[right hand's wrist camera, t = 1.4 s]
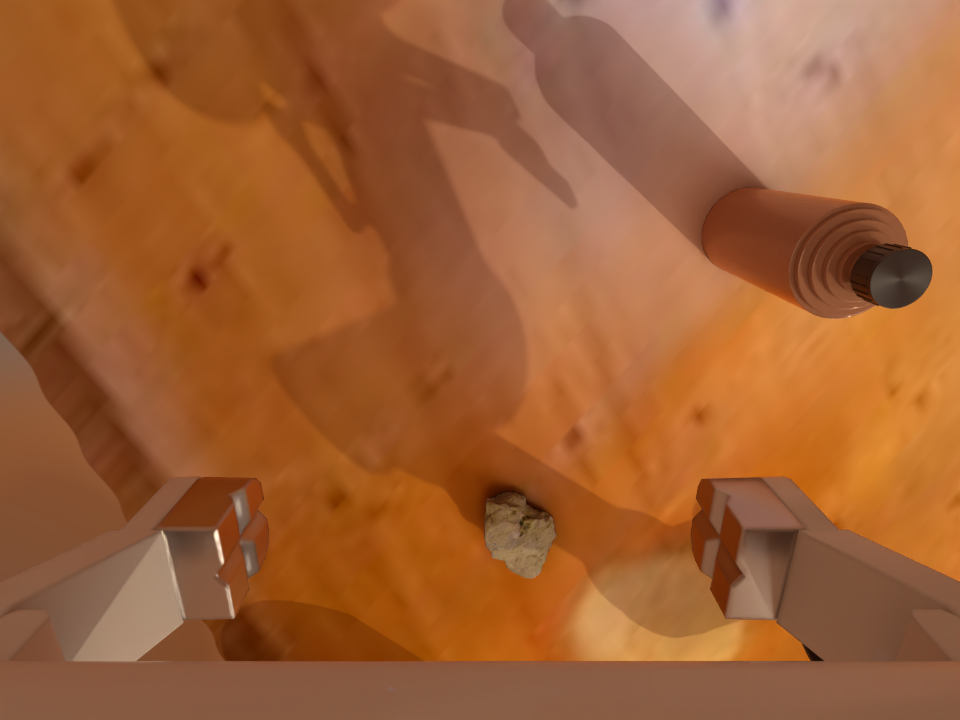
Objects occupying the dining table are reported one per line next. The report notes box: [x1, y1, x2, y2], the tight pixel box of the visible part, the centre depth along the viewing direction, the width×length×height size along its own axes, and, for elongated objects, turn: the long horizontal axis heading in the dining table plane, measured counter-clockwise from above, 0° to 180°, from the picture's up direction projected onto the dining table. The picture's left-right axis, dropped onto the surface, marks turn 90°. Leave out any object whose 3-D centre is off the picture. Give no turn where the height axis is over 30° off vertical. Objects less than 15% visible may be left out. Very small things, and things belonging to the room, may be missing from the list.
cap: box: [850, 243, 932, 309], centre depth 36 cm, size 4×4×2 cm
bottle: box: [702, 188, 908, 319], centre depth 46 cm, size 8×8×22 cm
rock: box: [484, 492, 556, 578], centre depth 65 cm, size 11×6×10 cm
